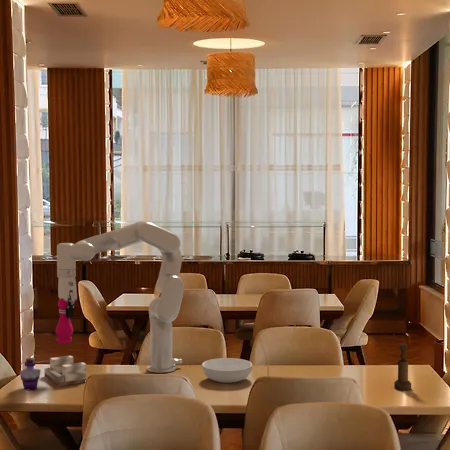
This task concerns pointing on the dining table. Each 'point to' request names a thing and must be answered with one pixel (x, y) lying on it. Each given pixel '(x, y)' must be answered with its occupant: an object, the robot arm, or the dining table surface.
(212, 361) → the serving bowl
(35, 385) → the potion bottle
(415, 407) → the dining table surface
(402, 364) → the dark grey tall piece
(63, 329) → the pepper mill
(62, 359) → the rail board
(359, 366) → the dining table surface
